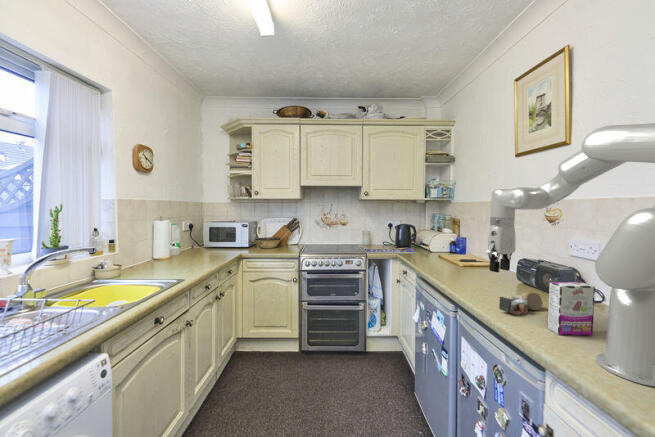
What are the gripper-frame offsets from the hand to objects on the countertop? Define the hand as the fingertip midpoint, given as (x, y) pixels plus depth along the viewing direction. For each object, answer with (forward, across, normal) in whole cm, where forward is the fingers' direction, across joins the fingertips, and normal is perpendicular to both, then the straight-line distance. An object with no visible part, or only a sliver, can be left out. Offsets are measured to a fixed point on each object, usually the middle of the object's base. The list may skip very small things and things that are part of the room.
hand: (499, 270), depth 98 cm
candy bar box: (+18, +9, -18) cm, 27 cm away
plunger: (+16, +10, 0) cm, 19 cm away
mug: (+18, +21, +1) cm, 27 cm away
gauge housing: (+18, +11, 0) cm, 21 cm away
